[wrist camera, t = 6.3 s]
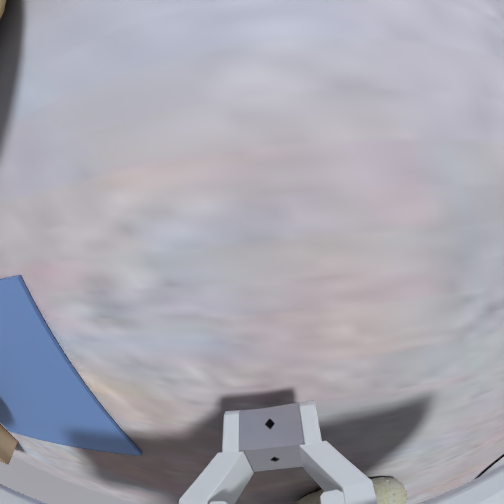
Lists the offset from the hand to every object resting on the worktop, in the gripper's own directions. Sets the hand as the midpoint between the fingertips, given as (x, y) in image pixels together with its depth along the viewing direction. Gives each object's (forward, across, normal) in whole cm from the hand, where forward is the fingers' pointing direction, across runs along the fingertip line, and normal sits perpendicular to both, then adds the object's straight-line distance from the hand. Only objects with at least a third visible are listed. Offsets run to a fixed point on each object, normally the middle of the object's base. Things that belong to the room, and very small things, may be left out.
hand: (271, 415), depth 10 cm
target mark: (+2, -14, 0) cm, 14 cm away
